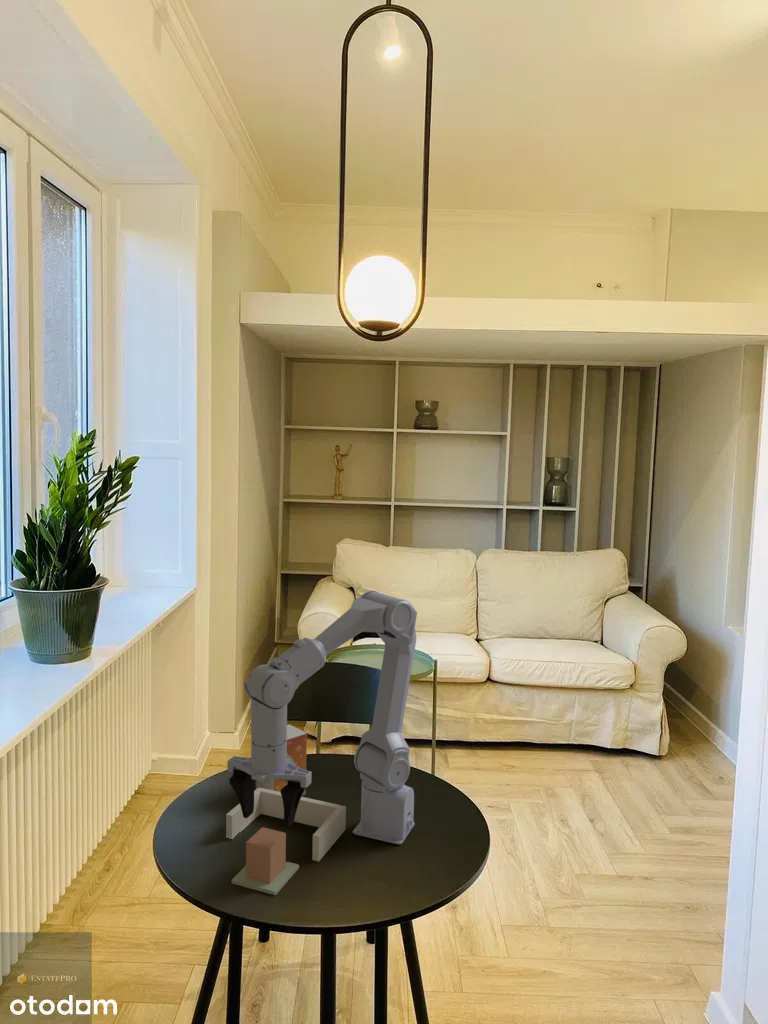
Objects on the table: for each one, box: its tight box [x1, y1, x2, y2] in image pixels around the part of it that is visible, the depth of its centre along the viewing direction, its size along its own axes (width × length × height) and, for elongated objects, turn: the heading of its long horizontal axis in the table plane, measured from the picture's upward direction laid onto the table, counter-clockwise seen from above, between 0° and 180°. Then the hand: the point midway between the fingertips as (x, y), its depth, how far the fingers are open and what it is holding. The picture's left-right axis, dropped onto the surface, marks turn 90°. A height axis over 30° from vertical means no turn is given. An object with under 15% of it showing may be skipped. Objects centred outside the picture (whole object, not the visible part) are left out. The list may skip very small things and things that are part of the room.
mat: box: [231, 861, 300, 896], centre depth 120 cm, size 8×8×1 cm
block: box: [245, 827, 287, 884], centre depth 119 cm, size 4×5×6 cm
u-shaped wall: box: [225, 787, 347, 862], centre depth 132 cm, size 18×11×4 cm, turn 69°
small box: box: [255, 724, 308, 797], centre depth 146 cm, size 8×6×13 cm
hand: (268, 819), depth 119 cm, fingers open, 7 cm apart
